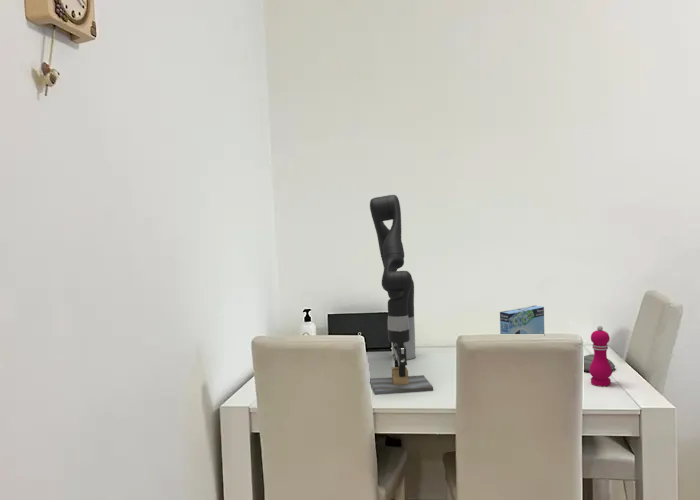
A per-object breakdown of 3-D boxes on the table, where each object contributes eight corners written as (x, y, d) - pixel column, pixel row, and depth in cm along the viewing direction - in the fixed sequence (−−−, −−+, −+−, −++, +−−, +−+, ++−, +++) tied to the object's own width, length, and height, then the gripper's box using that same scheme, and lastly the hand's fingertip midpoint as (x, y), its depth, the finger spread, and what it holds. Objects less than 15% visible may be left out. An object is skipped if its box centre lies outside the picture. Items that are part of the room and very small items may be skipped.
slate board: (369, 381, 238) (369, 378, 237) (423, 378, 239) (423, 375, 239) (375, 394, 222) (374, 391, 222) (433, 390, 223) (433, 387, 223)
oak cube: (392, 381, 233) (391, 367, 232) (405, 380, 233) (405, 366, 233) (394, 385, 228) (393, 370, 227) (408, 384, 228) (407, 370, 228)
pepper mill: (611, 381, 226) (610, 324, 224) (612, 387, 219) (611, 328, 218) (589, 380, 228) (588, 323, 227) (589, 386, 221) (588, 327, 220)
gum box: (535, 363, 254) (534, 305, 253) (546, 366, 250) (545, 306, 248) (500, 372, 244) (498, 311, 242) (510, 375, 239) (509, 313, 238)
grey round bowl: (574, 373, 239) (573, 359, 238) (570, 363, 253) (570, 349, 253) (618, 374, 235) (617, 359, 235) (611, 364, 250) (611, 350, 249)
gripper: (384, 324, 236) (386, 369, 237) (391, 332, 222) (392, 379, 223) (405, 323, 236) (407, 367, 238) (413, 331, 222) (414, 378, 224)
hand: (400, 373), depth 230 cm, fingers open, 8 cm apart
